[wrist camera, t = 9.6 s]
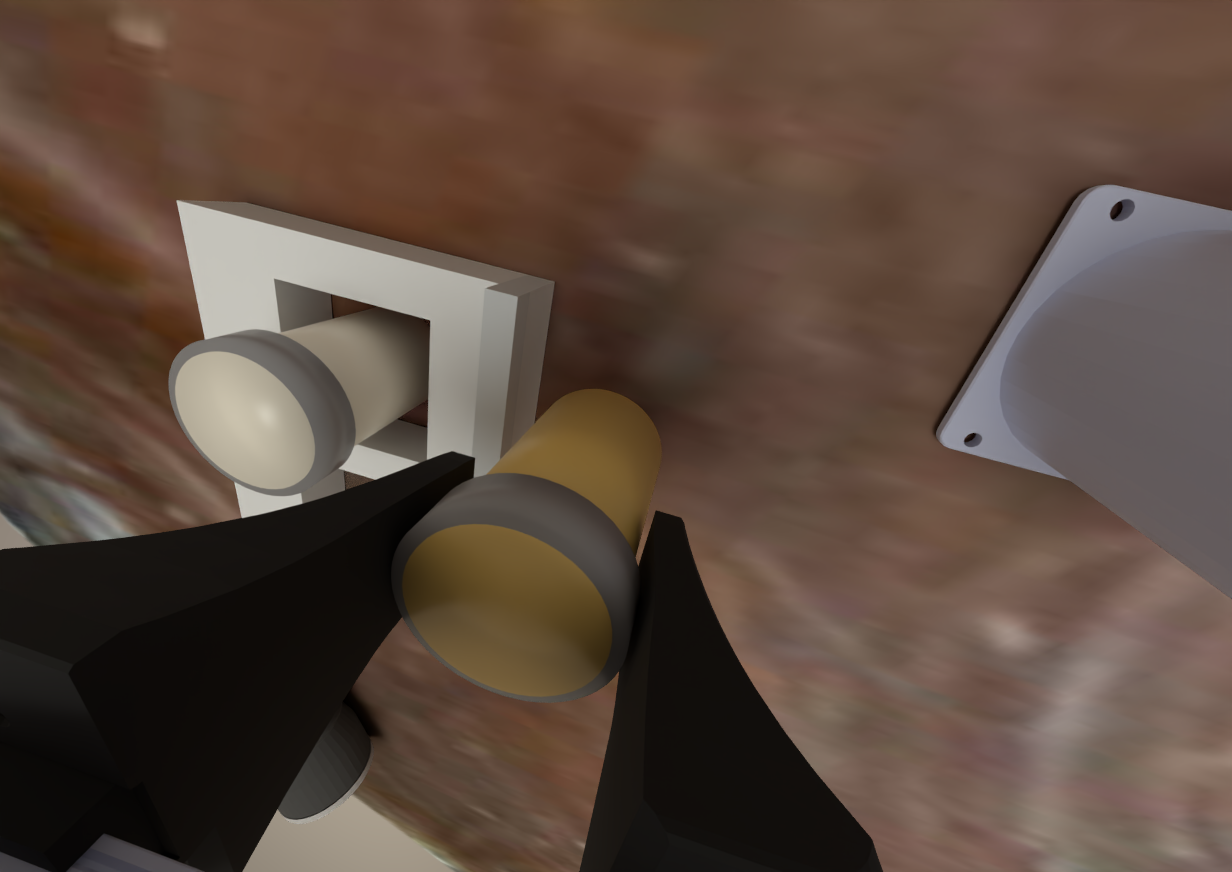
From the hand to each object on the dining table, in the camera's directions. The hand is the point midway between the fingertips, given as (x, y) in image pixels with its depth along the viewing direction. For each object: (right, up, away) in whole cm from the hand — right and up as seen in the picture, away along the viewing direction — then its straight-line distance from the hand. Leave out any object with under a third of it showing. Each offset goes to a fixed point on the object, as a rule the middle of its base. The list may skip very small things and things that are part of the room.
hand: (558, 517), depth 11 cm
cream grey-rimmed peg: (-7, +5, +7) cm, 12 cm away
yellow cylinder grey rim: (+1, +2, +3) cm, 4 cm away
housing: (-8, +2, +9) cm, 12 cm away
